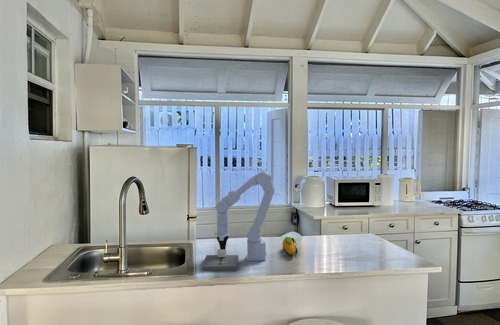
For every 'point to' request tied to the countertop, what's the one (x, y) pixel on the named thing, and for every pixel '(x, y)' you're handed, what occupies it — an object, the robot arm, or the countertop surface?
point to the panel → (220, 263)
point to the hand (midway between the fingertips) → (222, 250)
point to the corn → (289, 246)
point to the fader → (221, 252)
